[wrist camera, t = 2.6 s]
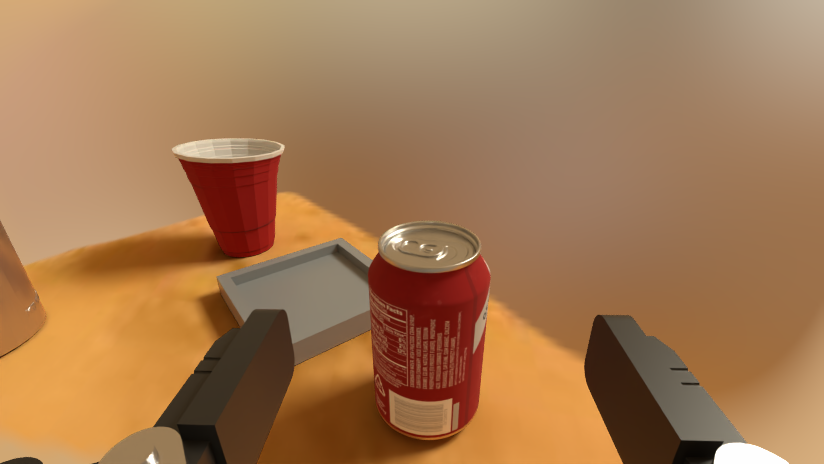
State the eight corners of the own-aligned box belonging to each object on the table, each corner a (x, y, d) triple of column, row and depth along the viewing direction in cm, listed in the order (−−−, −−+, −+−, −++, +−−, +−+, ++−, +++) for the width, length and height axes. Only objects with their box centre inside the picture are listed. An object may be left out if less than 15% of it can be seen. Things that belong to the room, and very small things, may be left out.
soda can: (460, 465, 23) (473, 287, 18) (356, 424, 25) (341, 257, 20) (488, 381, 28) (505, 227, 23) (401, 354, 31) (399, 209, 26)
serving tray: (270, 377, 29) (265, 355, 28) (220, 294, 38) (216, 276, 37) (413, 309, 36) (413, 290, 35) (342, 253, 45) (341, 237, 44)
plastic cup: (316, 244, 47) (303, 142, 42) (224, 280, 40) (195, 164, 35) (270, 218, 54) (254, 128, 49) (184, 245, 47) (156, 143, 42)
